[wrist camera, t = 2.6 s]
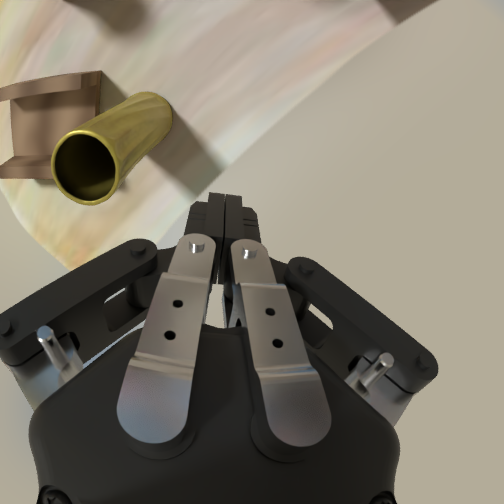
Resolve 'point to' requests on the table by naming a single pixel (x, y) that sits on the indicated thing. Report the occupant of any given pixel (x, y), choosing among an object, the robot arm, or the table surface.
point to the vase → (109, 147)
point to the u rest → (46, 119)
